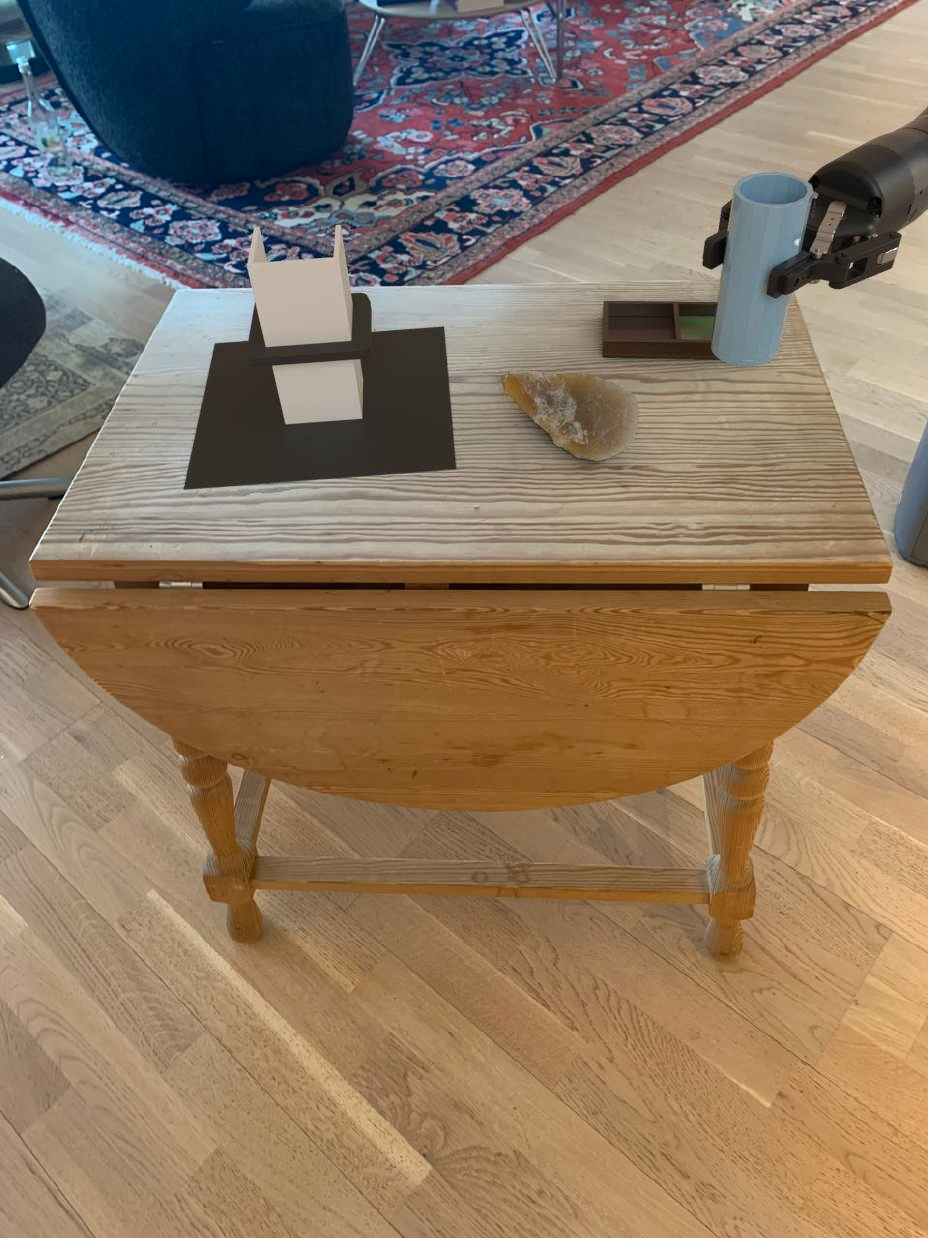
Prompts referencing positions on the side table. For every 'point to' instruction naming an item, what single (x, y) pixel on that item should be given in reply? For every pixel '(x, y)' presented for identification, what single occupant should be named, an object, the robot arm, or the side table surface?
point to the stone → (577, 411)
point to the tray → (658, 329)
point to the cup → (758, 265)
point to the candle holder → (320, 386)
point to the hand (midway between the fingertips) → (739, 270)
